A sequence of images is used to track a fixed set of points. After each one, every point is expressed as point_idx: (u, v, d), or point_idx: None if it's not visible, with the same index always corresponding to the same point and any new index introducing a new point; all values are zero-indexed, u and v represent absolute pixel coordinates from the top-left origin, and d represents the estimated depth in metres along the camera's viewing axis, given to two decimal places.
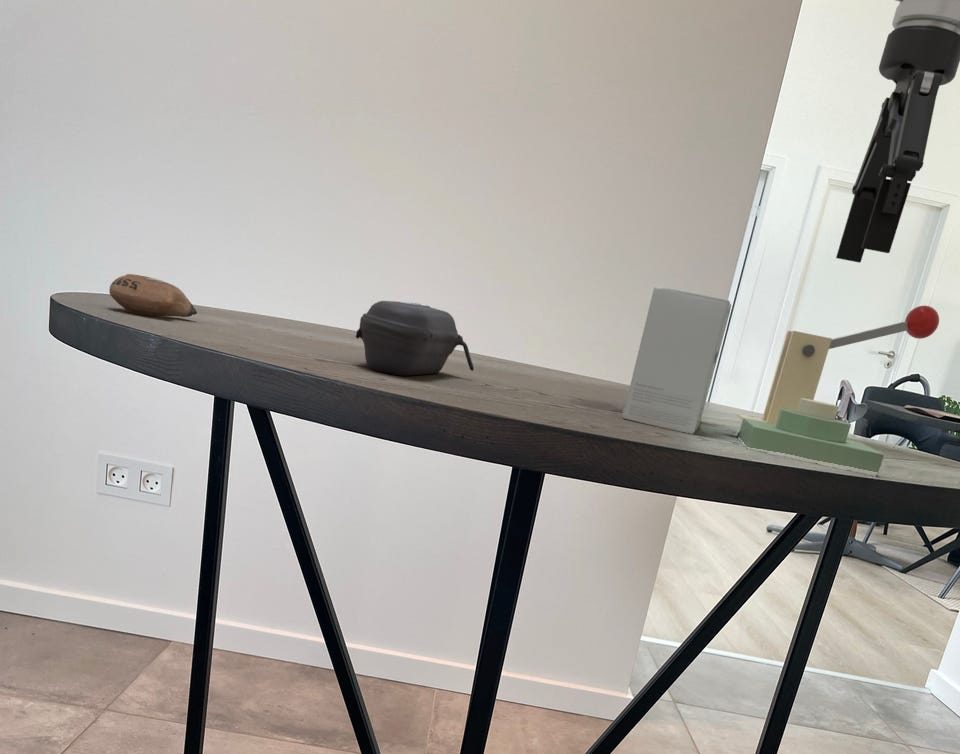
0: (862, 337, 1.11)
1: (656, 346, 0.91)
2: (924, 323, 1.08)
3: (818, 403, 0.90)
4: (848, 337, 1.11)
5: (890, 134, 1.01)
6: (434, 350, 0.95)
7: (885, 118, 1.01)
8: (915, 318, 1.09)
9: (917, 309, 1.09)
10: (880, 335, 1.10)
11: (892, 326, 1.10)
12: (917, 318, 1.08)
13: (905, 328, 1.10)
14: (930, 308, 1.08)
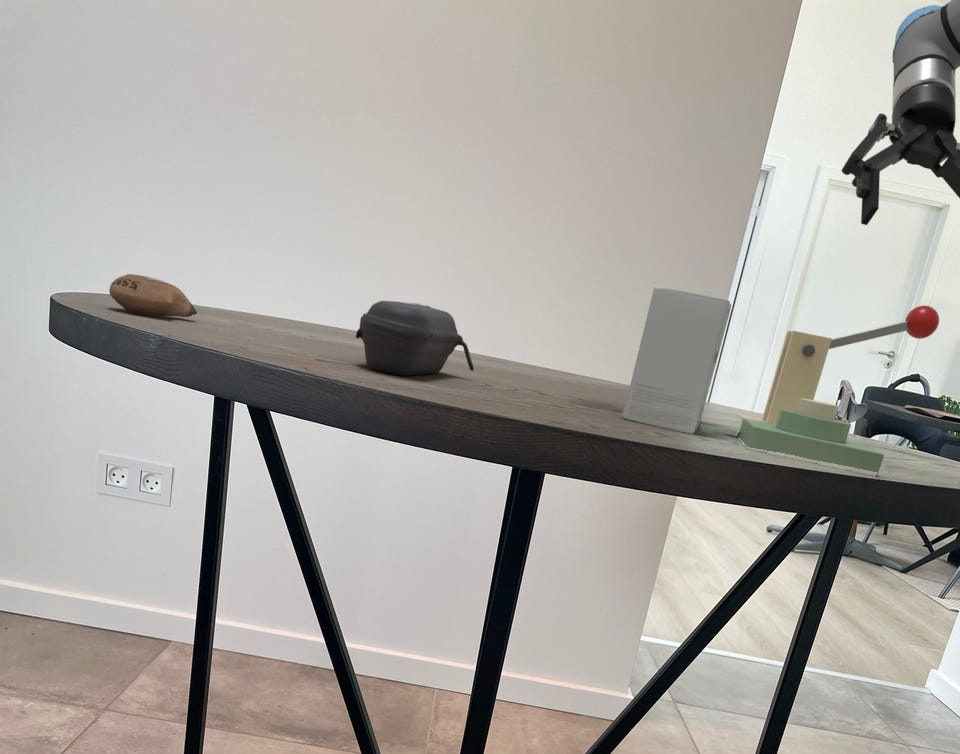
0: (862, 337, 1.11)
1: (656, 346, 0.91)
2: (924, 323, 1.08)
3: (818, 403, 0.90)
4: (848, 337, 1.11)
5: (925, 164, 1.22)
6: (434, 350, 0.95)
7: None
8: (915, 318, 1.09)
9: (917, 309, 1.09)
10: (880, 335, 1.10)
11: (892, 326, 1.10)
12: (917, 318, 1.08)
13: (905, 328, 1.10)
14: (930, 308, 1.08)
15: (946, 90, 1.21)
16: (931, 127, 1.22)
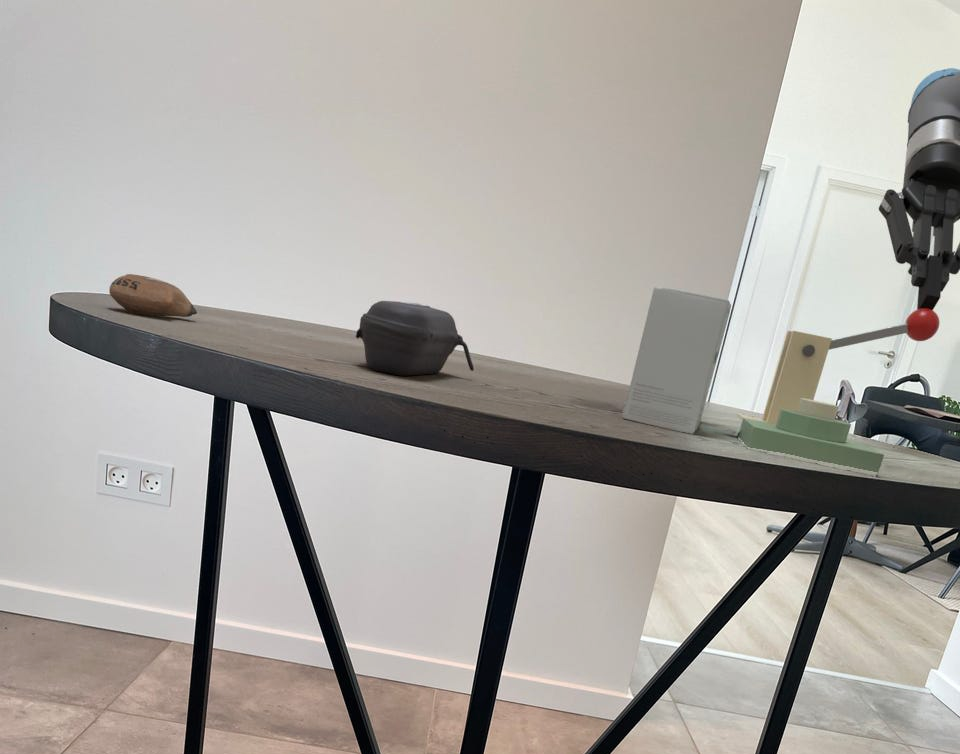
0: (862, 338, 1.11)
1: (656, 346, 0.91)
2: (925, 326, 1.08)
3: (818, 403, 0.90)
4: (848, 338, 1.11)
5: (937, 224, 1.16)
6: (434, 350, 0.95)
7: None
8: (915, 320, 1.09)
9: (918, 312, 1.09)
10: (880, 337, 1.10)
11: (892, 328, 1.10)
12: (917, 320, 1.09)
13: (905, 330, 1.10)
14: (931, 311, 1.09)
15: (957, 149, 1.16)
16: (943, 187, 1.17)
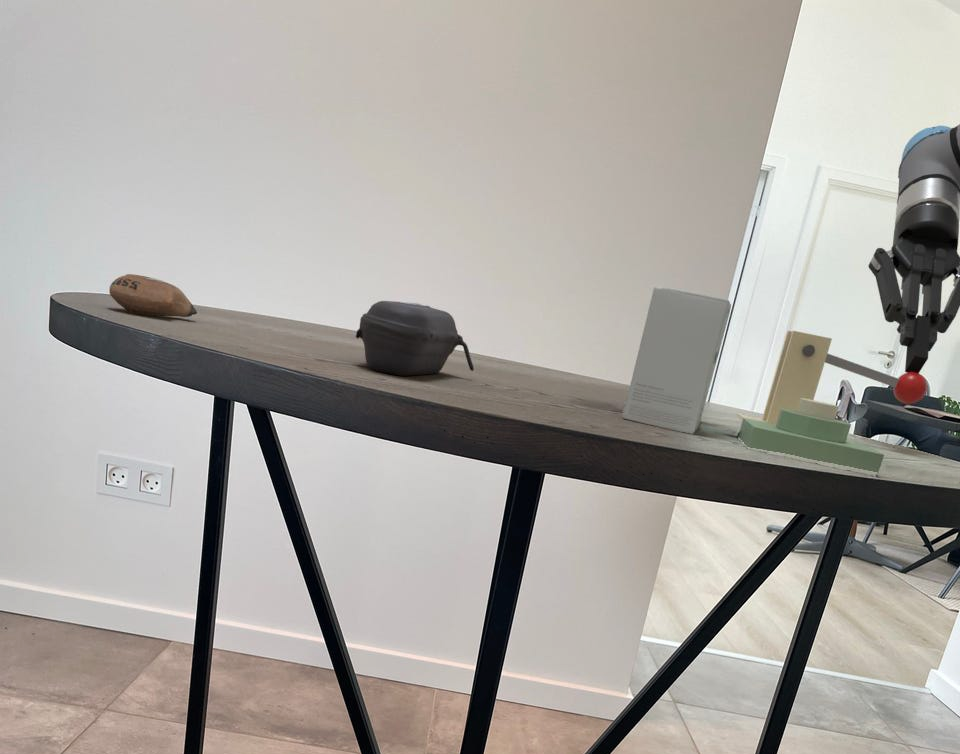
0: (856, 369, 1.12)
1: (656, 346, 0.91)
2: (912, 389, 1.10)
3: (818, 403, 0.90)
4: (846, 362, 1.12)
5: (925, 283, 1.18)
6: (434, 350, 0.95)
7: None
8: (907, 380, 1.11)
9: (914, 373, 1.11)
10: (871, 377, 1.12)
11: (885, 375, 1.12)
12: (909, 381, 1.11)
13: (894, 384, 1.12)
14: (924, 379, 1.11)
15: (946, 209, 1.18)
16: (932, 246, 1.19)
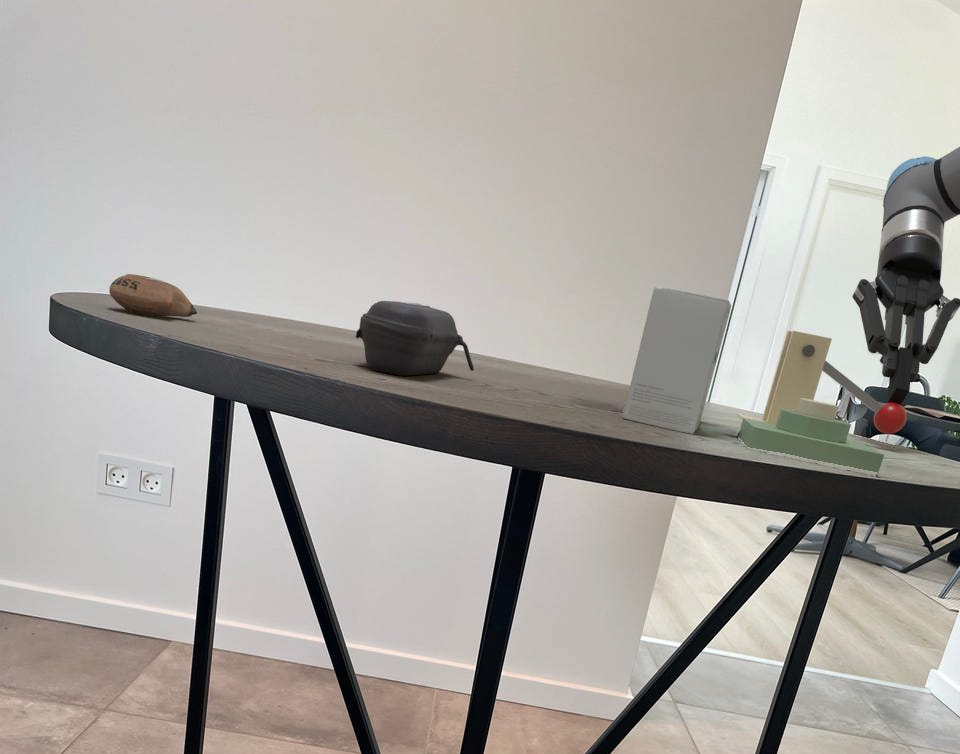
0: (847, 384, 1.13)
1: (656, 346, 0.91)
2: (891, 419, 1.12)
3: (818, 403, 0.90)
4: (839, 374, 1.12)
5: (909, 313, 1.20)
6: (434, 350, 0.95)
7: None
8: (890, 409, 1.12)
9: (897, 405, 1.12)
10: (858, 396, 1.13)
11: (871, 399, 1.13)
12: (891, 411, 1.12)
13: (877, 410, 1.13)
14: (905, 414, 1.12)
15: (929, 240, 1.19)
16: (915, 277, 1.20)
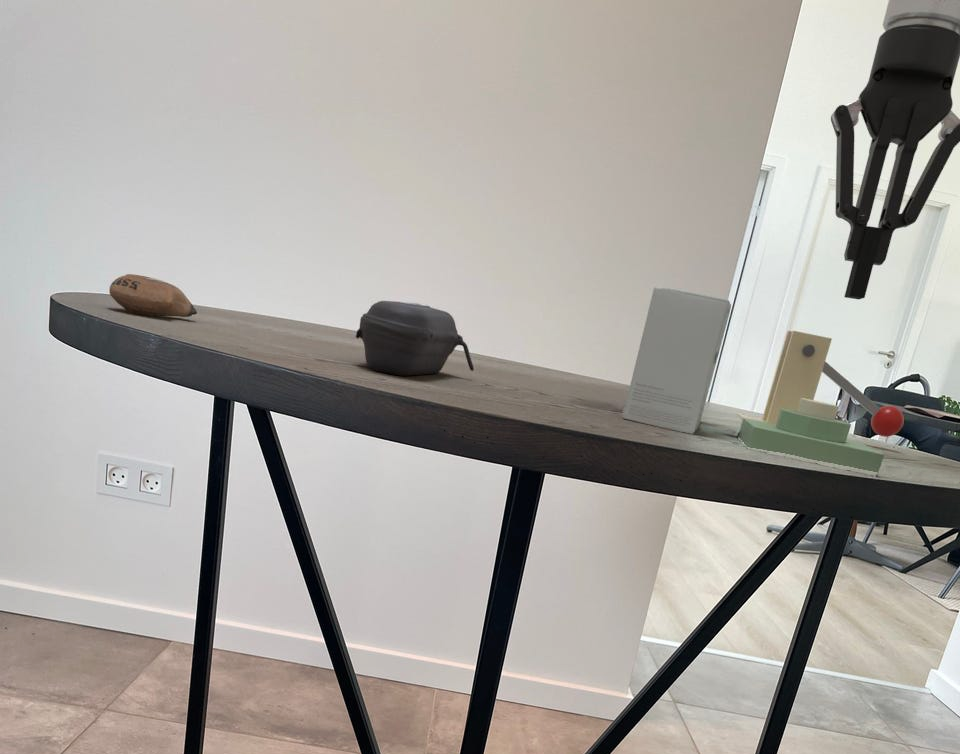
0: (845, 386, 1.13)
1: (656, 346, 0.91)
2: (889, 422, 1.12)
3: (818, 403, 0.90)
4: (838, 375, 1.12)
5: (899, 144, 0.93)
6: (434, 350, 0.95)
7: None
8: (888, 412, 1.12)
9: (895, 408, 1.12)
10: (856, 398, 1.13)
11: (869, 401, 1.13)
12: (889, 414, 1.12)
13: (874, 412, 1.13)
14: (902, 417, 1.12)
15: (940, 34, 0.87)
16: (916, 88, 0.90)
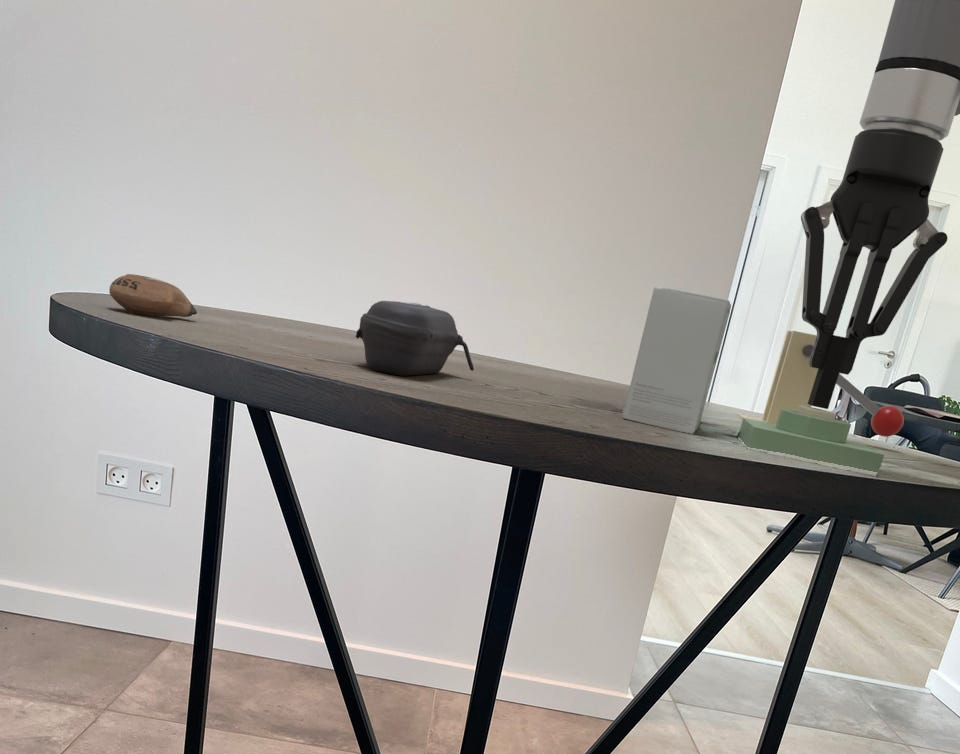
0: (845, 386, 1.13)
1: (656, 346, 0.91)
2: (889, 422, 1.12)
3: (816, 410, 0.90)
4: (838, 375, 1.12)
5: (872, 249, 0.88)
6: (434, 350, 0.95)
7: None
8: (888, 412, 1.12)
9: (895, 408, 1.12)
10: (856, 398, 1.13)
11: (869, 401, 1.13)
12: (889, 414, 1.12)
13: (874, 412, 1.13)
14: (902, 417, 1.12)
15: (918, 141, 0.81)
16: (891, 194, 0.85)
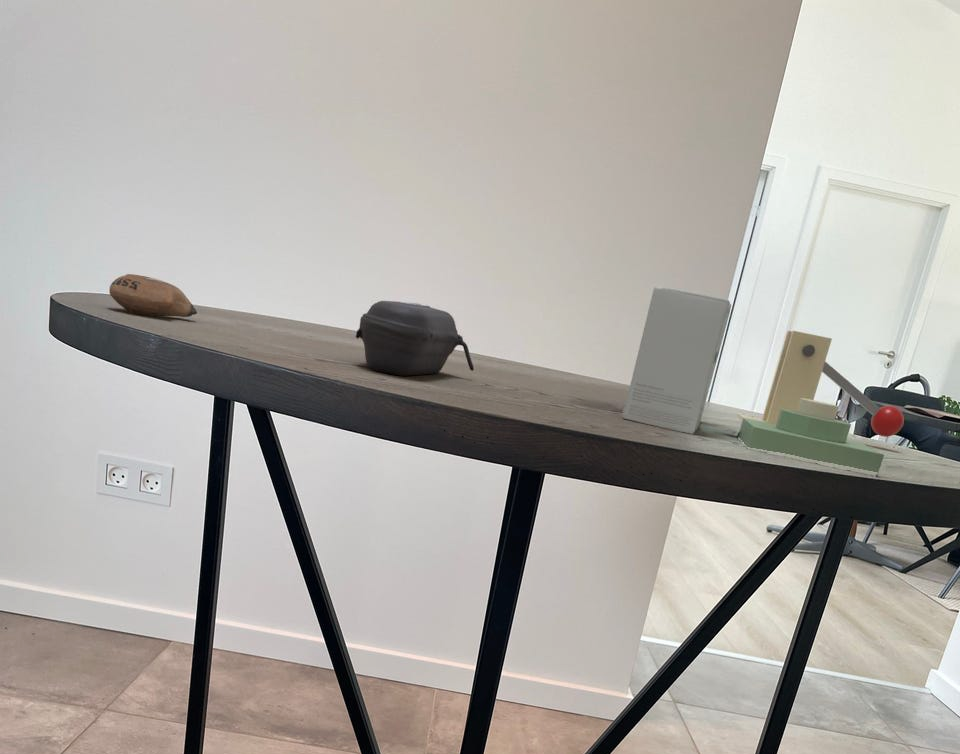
0: (845, 386, 1.13)
1: (656, 346, 0.91)
2: (889, 422, 1.12)
3: (818, 403, 0.90)
4: (838, 375, 1.12)
5: None
6: (434, 350, 0.95)
7: None
8: (888, 412, 1.12)
9: (895, 408, 1.12)
10: (856, 398, 1.13)
11: (869, 401, 1.13)
12: (889, 414, 1.12)
13: (874, 412, 1.13)
14: (902, 417, 1.12)
15: None
16: None
